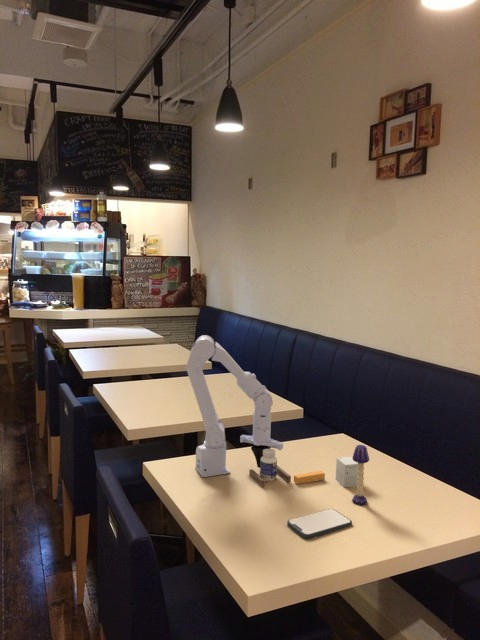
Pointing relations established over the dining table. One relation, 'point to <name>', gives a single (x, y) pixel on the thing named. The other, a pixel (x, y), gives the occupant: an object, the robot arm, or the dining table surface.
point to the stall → (262, 481)
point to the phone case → (319, 523)
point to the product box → (346, 471)
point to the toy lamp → (360, 473)
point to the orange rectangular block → (309, 477)
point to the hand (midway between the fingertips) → (260, 466)
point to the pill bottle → (268, 465)
